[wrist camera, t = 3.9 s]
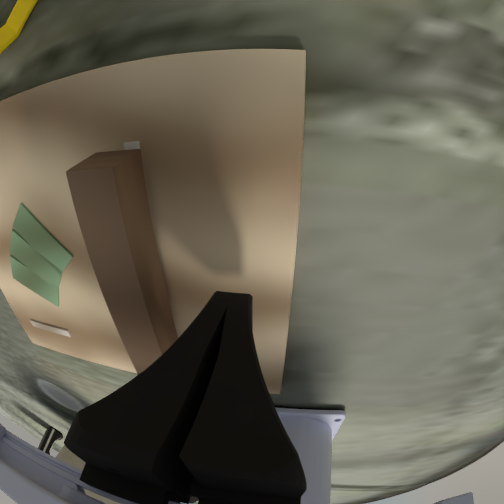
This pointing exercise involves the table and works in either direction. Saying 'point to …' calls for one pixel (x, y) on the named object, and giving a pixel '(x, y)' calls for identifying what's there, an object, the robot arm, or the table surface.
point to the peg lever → (124, 250)
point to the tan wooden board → (159, 192)
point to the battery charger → (49, 439)
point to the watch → (15, 22)
